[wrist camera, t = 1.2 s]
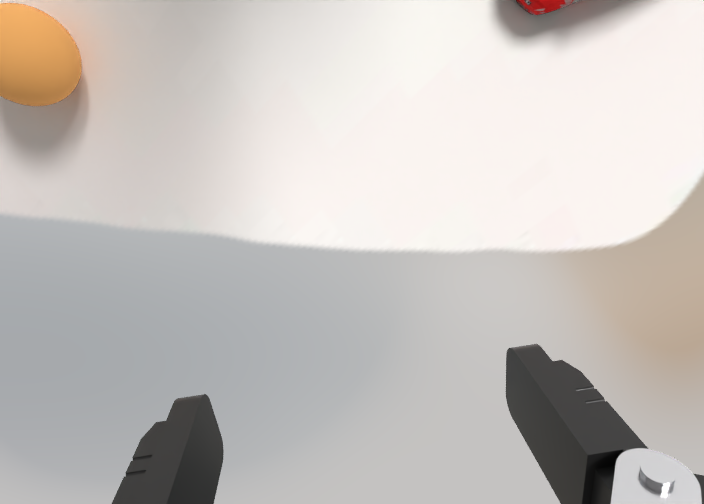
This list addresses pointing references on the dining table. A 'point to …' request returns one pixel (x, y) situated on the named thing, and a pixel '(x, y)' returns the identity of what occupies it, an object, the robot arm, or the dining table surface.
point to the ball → (35, 57)
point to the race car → (543, 5)
